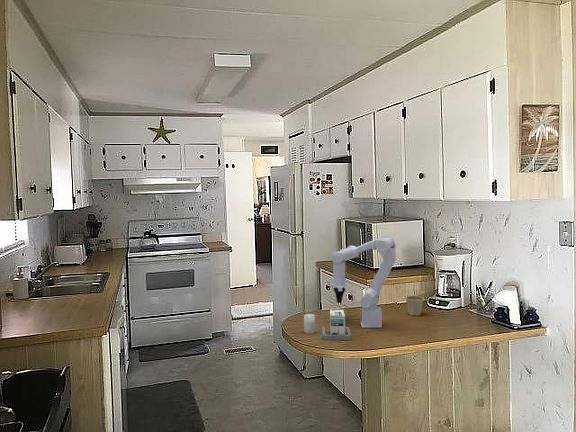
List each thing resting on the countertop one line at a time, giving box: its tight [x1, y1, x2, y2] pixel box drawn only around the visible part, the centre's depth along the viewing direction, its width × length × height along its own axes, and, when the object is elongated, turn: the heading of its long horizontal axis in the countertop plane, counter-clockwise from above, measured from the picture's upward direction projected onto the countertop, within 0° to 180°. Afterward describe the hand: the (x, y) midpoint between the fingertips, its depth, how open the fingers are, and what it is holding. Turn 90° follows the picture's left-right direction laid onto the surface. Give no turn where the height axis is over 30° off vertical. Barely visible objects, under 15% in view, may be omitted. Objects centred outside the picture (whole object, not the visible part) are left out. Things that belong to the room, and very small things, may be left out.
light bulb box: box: [329, 309, 346, 335], centre depth 229 cm, size 11×7×11 cm, turn 177°
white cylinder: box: [303, 313, 316, 335], centre depth 235 cm, size 5×5×8 cm
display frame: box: [321, 326, 352, 341], centre depth 229 cm, size 12×13×2 cm
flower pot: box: [405, 295, 425, 317], centre depth 263 cm, size 9×9×9 cm
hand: (339, 302), depth 252 cm, fingers closed
